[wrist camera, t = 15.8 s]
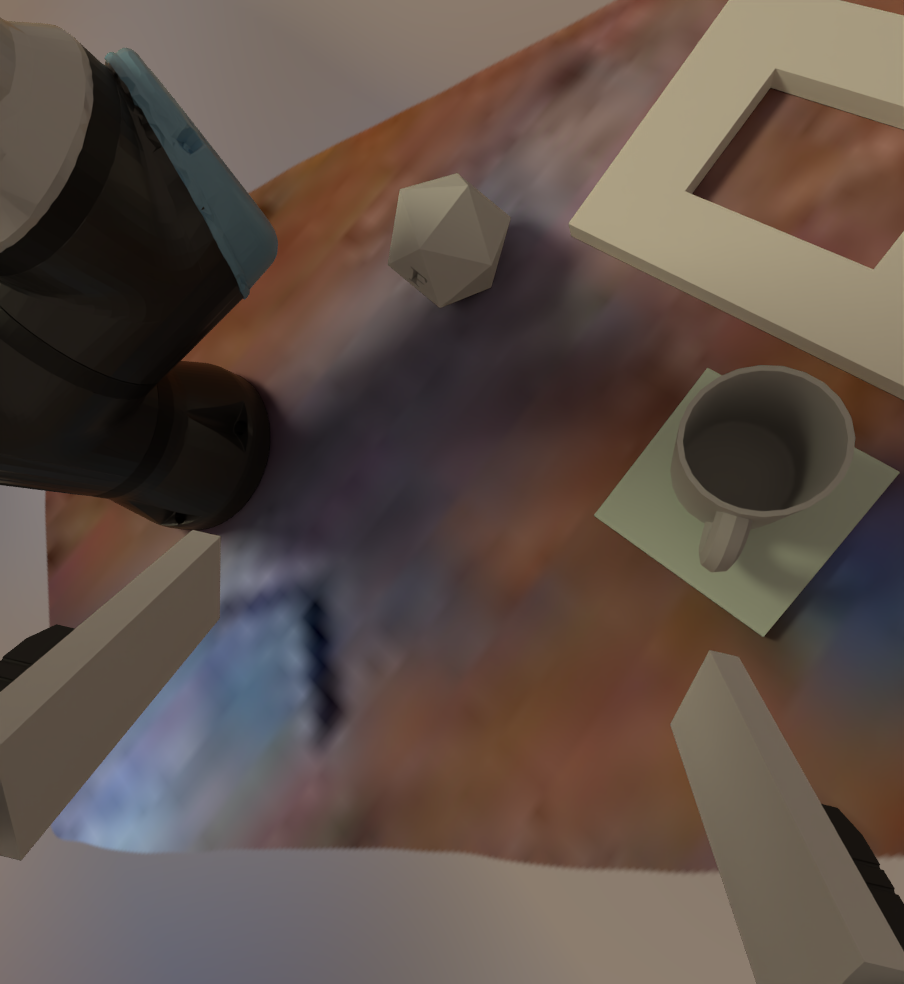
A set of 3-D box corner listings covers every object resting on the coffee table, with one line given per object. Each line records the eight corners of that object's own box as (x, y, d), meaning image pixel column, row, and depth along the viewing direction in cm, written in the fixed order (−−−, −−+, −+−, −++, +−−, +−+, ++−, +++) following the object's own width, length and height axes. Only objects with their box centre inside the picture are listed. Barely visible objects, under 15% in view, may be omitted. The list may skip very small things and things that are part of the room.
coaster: (594, 516, 36) (593, 515, 35) (706, 371, 35) (707, 367, 34) (760, 635, 32) (763, 637, 31) (894, 474, 30) (900, 472, 30)
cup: (814, 431, 31) (875, 380, 23) (768, 592, 31) (813, 598, 23) (687, 407, 34) (700, 353, 26) (643, 554, 34) (642, 547, 25)
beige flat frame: (571, 236, 39) (568, 223, 38) (741, -1, 38) (745, -23, 36) (904, 400, 31) (916, 392, 29) (1146, 103, 29) (1171, 79, 28)
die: (409, 250, 45) (347, 265, 38) (460, 149, 40) (400, 143, 32) (482, 311, 45) (435, 338, 38) (543, 218, 40) (503, 228, 32)
